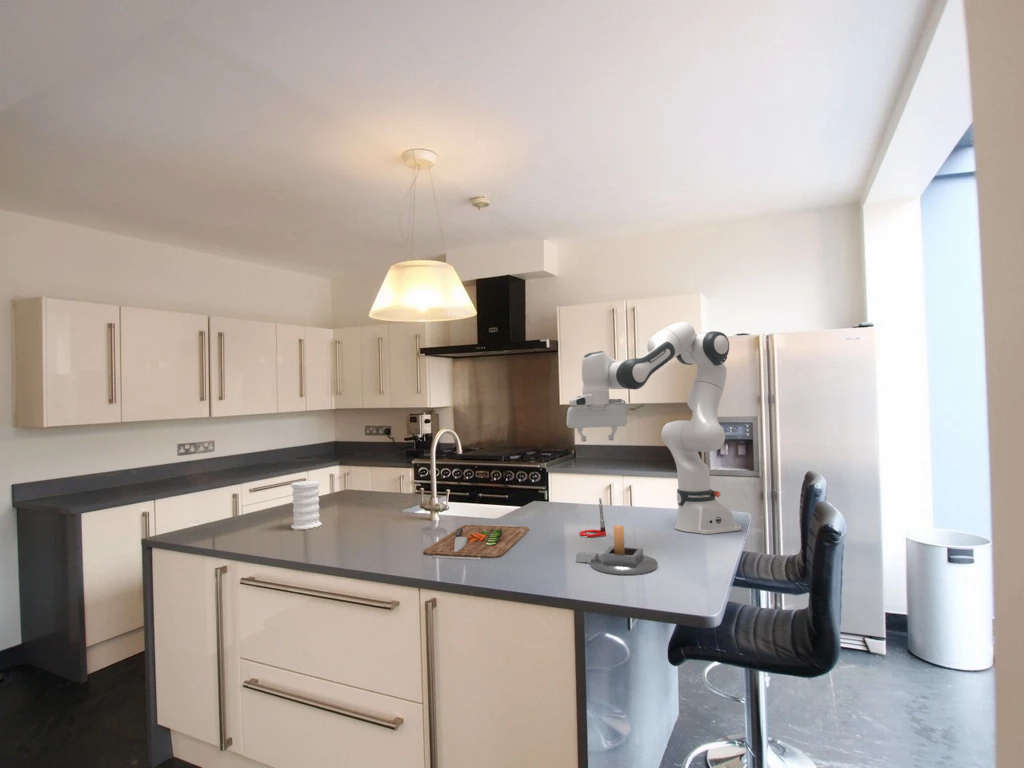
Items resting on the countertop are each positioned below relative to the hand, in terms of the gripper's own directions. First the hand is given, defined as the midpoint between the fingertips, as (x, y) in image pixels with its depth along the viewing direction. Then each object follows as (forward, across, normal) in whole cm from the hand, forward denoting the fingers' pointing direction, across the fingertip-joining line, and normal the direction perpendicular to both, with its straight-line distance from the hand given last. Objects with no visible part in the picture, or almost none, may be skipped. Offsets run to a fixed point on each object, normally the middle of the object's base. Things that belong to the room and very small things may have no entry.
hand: (597, 440), depth 194 cm
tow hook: (+34, 0, -12) cm, 36 cm away
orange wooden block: (+33, +1, +25) cm, 42 cm away
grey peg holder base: (+34, +2, +25) cm, 42 cm away
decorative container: (+34, +108, -50) cm, 124 cm away
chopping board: (+35, +40, -12) cm, 54 cm away
